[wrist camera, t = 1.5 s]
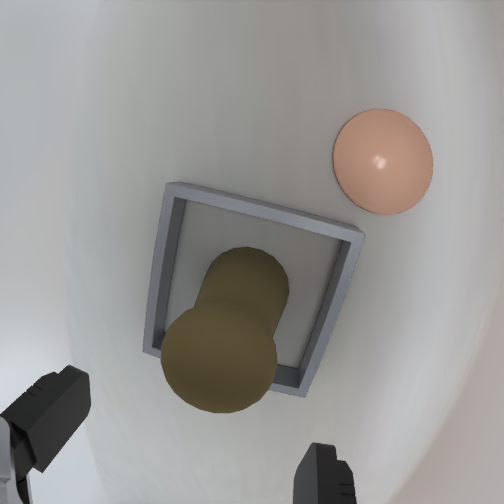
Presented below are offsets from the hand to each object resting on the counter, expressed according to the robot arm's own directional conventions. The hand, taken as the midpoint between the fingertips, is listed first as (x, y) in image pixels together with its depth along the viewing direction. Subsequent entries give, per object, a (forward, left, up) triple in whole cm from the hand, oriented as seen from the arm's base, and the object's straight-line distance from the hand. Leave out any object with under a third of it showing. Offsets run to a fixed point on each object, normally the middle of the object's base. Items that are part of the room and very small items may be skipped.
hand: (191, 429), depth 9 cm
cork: (0, 0, -14) cm, 14 cm away
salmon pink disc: (-11, +7, -14) cm, 19 cm away
